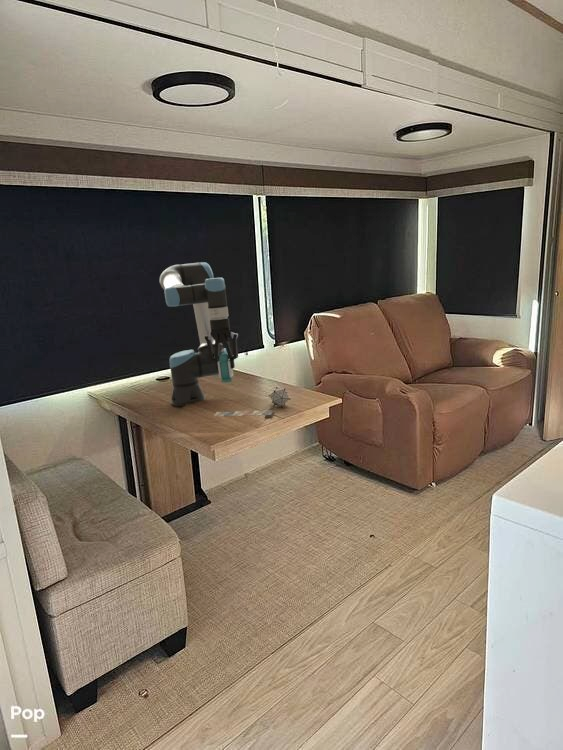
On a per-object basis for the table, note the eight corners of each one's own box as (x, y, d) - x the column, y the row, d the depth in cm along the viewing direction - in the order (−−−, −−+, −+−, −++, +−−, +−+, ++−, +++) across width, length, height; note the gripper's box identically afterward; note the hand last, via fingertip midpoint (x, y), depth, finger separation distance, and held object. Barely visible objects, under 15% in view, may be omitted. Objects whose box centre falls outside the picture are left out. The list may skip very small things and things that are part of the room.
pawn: (220, 382, 198) (216, 354, 196) (223, 380, 202) (220, 352, 200) (230, 382, 198) (226, 353, 195) (233, 379, 201) (230, 351, 199)
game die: (279, 416, 211) (267, 402, 205) (273, 404, 218) (261, 390, 212) (296, 404, 211) (285, 389, 204) (290, 392, 217) (279, 378, 211)
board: (213, 419, 203) (212, 416, 203) (217, 414, 209) (217, 411, 208) (271, 417, 199) (270, 414, 198) (273, 412, 204) (273, 409, 204)
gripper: (195, 321, 193) (203, 380, 198) (236, 318, 189) (243, 378, 194) (202, 318, 200) (210, 375, 205) (242, 315, 196) (249, 373, 201)
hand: (226, 376), depth 200 cm, fingers closed on pawn, 3 cm apart
